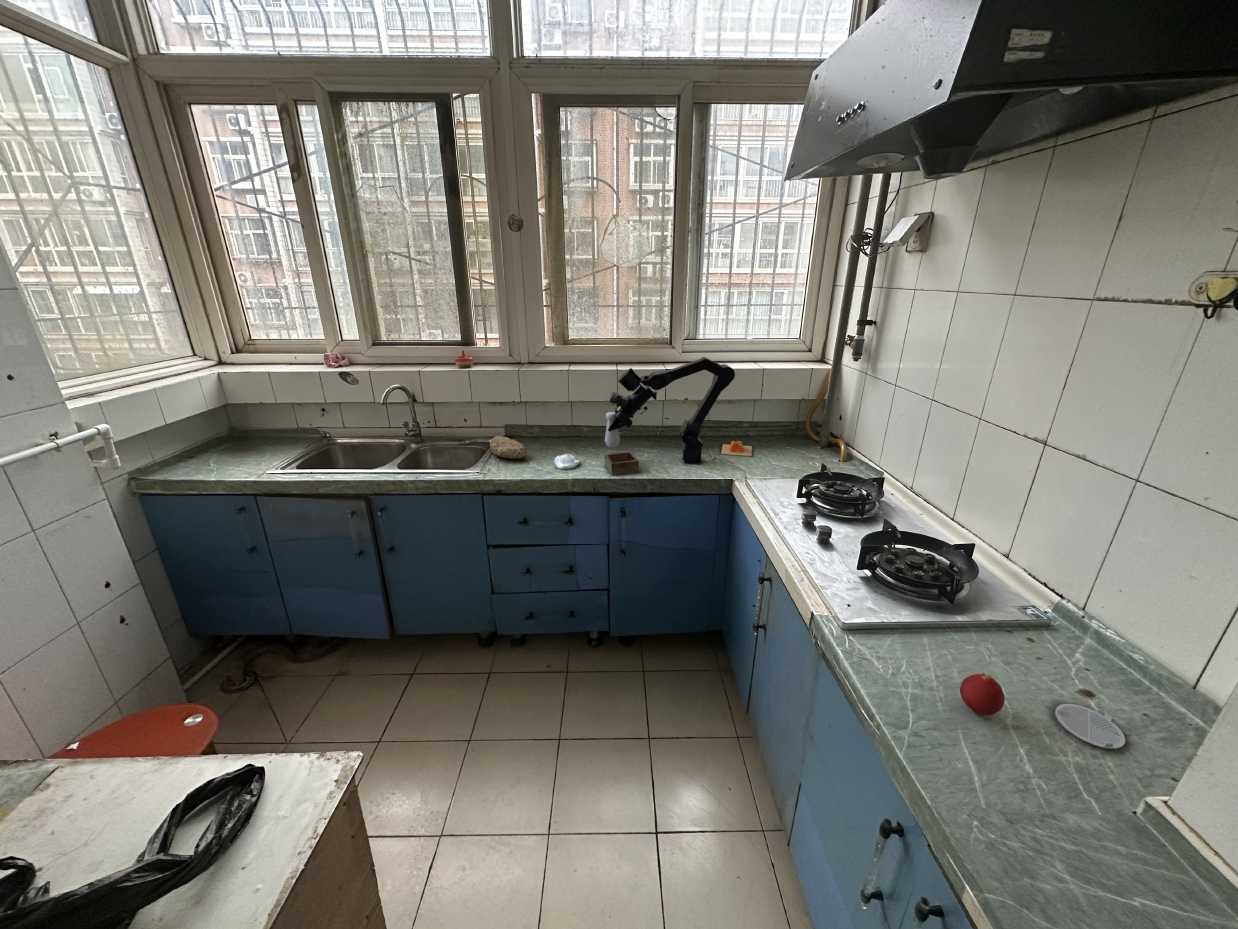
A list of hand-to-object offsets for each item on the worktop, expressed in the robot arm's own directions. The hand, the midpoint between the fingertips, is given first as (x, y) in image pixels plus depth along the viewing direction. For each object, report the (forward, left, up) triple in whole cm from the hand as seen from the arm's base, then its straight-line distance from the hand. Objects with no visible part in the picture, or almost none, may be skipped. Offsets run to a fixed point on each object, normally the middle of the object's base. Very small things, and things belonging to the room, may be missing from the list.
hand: (608, 429), depth 187 cm
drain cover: (-86, +115, -13) cm, 145 cm away
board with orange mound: (-51, -16, -13) cm, 55 cm away
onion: (-70, +113, -13) cm, 134 cm away
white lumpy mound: (+16, +3, -13) cm, 21 cm away
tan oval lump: (+41, -6, -13) cm, 44 cm away
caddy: (-5, +7, -13) cm, 16 cm away
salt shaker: (-1, 0, -7) cm, 7 cm away
